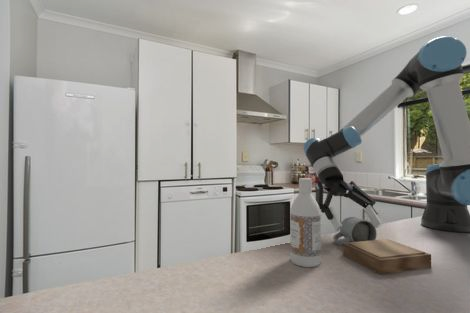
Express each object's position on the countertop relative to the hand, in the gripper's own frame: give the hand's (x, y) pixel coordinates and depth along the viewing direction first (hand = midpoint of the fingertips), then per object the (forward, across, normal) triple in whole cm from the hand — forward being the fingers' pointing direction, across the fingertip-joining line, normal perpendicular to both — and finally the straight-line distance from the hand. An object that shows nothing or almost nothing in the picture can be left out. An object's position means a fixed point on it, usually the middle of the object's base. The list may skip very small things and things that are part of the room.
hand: (359, 227), depth 74 cm
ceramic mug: (+3, +1, -5) cm, 6 cm away
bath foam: (+9, +22, +2) cm, 24 cm away
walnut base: (+12, +3, +5) cm, 13 cm away
